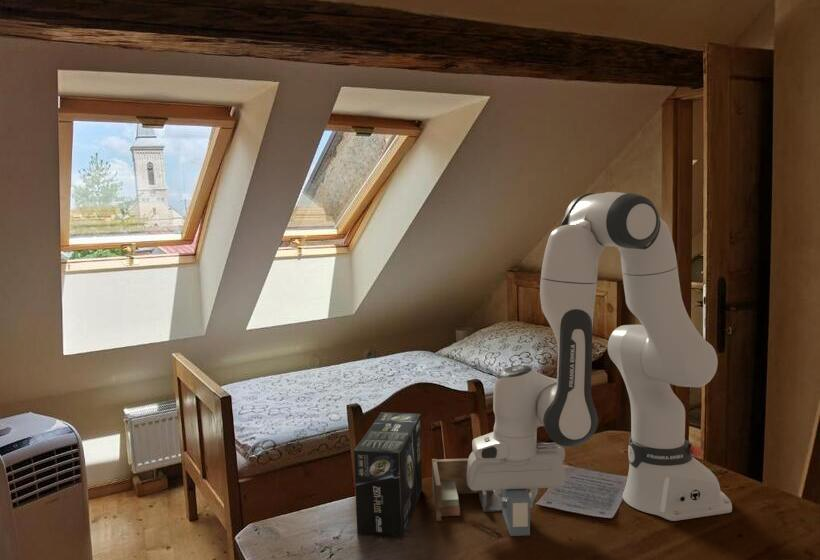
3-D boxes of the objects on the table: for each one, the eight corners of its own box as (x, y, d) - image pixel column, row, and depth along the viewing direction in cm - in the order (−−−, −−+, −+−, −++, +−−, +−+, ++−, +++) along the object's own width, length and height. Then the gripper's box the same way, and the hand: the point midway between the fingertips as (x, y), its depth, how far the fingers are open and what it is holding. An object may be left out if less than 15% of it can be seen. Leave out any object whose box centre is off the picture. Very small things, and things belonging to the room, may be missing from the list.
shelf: (491, 489, 153) (491, 456, 152) (501, 518, 139) (501, 482, 138) (432, 491, 153) (431, 459, 152) (436, 520, 139) (435, 485, 138)
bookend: (495, 494, 150) (495, 478, 150) (501, 511, 142) (501, 493, 142) (478, 495, 150) (478, 478, 150) (483, 511, 142) (483, 494, 142)
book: (520, 511, 142) (520, 476, 141) (530, 535, 132) (530, 498, 131) (502, 512, 142) (501, 477, 141) (510, 536, 132) (510, 499, 131)
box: (403, 540, 131) (400, 450, 129) (356, 536, 133) (352, 448, 131) (423, 489, 154) (421, 412, 151) (382, 487, 156) (380, 410, 153)
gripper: (560, 436, 138) (560, 498, 140) (465, 439, 137) (466, 501, 139) (568, 447, 132) (568, 512, 133) (468, 451, 131) (469, 516, 133)
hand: (515, 507), depth 136 cm, fingers closed on book, 4 cm apart
